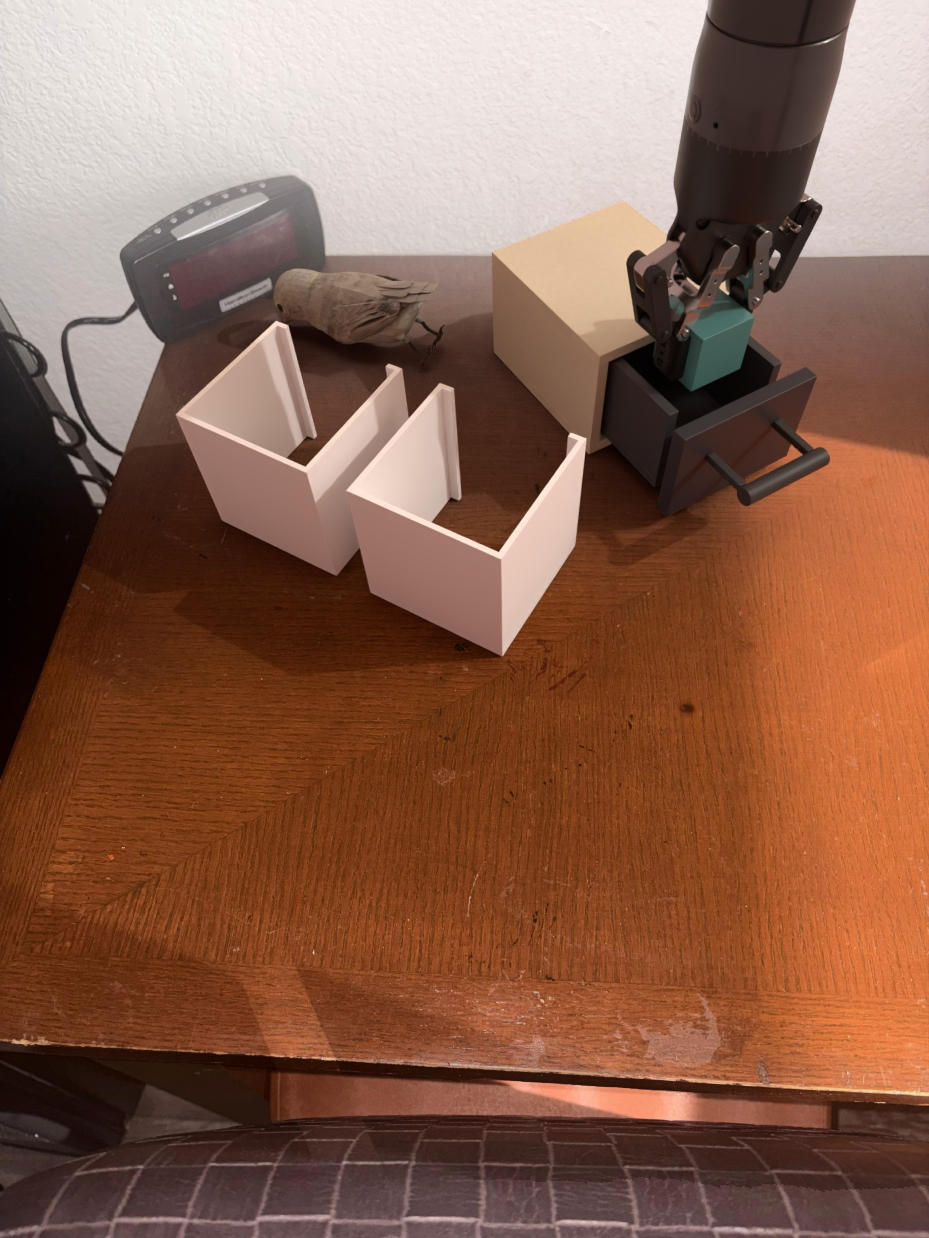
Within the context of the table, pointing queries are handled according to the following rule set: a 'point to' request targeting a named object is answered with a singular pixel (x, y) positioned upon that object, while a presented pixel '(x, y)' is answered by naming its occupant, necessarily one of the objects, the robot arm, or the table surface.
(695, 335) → the block
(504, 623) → the white desk organizer
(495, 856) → the table surface
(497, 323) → the beige hollow box
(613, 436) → the drawer
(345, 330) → the decorative bird
